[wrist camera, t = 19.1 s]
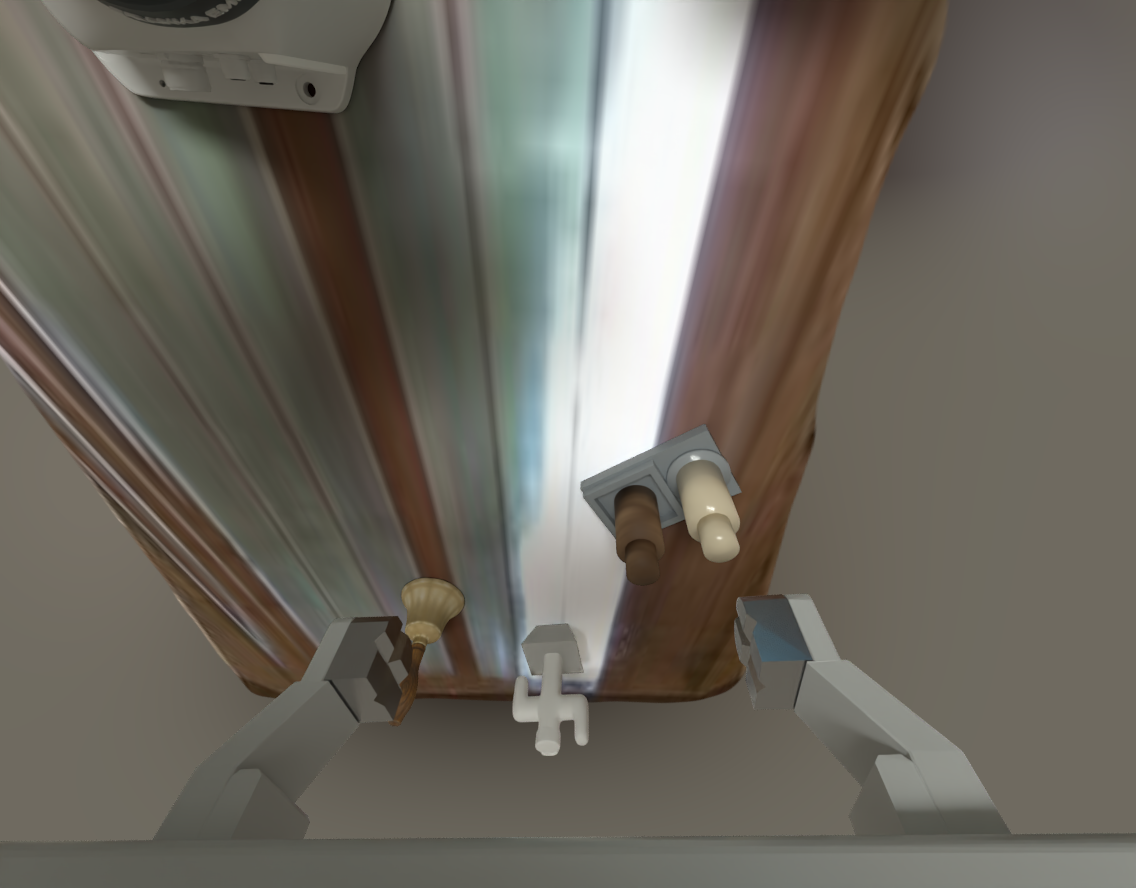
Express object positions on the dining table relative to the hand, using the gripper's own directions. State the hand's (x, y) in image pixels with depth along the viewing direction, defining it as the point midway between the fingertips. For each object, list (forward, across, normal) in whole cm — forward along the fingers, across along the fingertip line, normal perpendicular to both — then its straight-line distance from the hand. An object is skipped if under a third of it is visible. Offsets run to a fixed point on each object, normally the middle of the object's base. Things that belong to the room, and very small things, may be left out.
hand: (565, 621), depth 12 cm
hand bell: (+34, +24, +40) cm, 58 cm away
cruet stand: (+34, -6, +24) cm, 42 cm away
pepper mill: (+33, -3, +25) cm, 41 cm away
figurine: (+34, +9, +49) cm, 60 cm away
